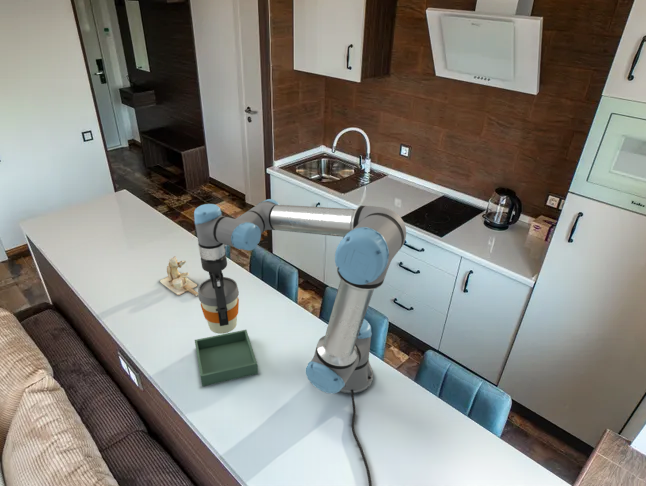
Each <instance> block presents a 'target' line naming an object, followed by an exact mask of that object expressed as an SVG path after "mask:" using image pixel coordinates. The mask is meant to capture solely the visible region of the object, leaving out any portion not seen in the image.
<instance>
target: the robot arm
mask: <svg viewBox="0 0 646 486" xmlns="http://www.w3.org/2000/svg"><path fill="white" fill-rule="evenodd" d="M193 216H194V227H195V231H196V237H197V245H198V246H197V247H198V251H199V256H200V263H201V268H202V270H203V271H205V272H208V275H209V279H210V280H211V281H212V287H213V289H215V294H216V299H217V306H218V308H217V309H216V311H218V316H219V323H220V326H224V325H229V323H228V315H227V310H228V309H227V306H226V300H225V294H224V288H223V287H224V282H223V277H224V273H223V270H225V269H226V268H227V266H228V259H227V254H226V253H227V252H226V247H228V246H229V247H232V248H235V249H237V250H244V251H253V250H255V249H256V248H257V247H258V244H259V243H260V241H261V238H262V234H263V233H264V232H265V231H281V232H290V233H300V234H310V235H311V234H312V235H321V236H330V237H339V238H341V237H342V239H341V240H340V241H339V243H338V245H337V246H336V248H335V252H334V262H335V266H336V267H337V269H336V272H337V276H338V278H339V279H340V280H339V283H338V288H337V291H336V294H335V299H334V302H333V306H332V309H331V313H330V316H329V319H328V325H327V327H326V332H325V334H324V335H323V336H322V337H321V338H319V340H318V341H317V343H316V347H315V352H314V354H313V357H312V358H311V360H310V361H309V362H308V363H307V365H306V367H305V375H306V378H307V380H308V381H309V382H310V383H311V384H312V386H313V387H315V388H316V389H318V390H319V391H321V392H323V393H326V394H332V395H333V394H337V393H339V392H340V393H343V394H348V395H351V403H352V417H351V432H352V435H353V438H354V441H355V442H356V445H357V448H358V449H359V453H360V455H361V458H362V461H363V464H364V467H365V471H366V475H367V481H368V486H373V483H372V476H371V472H370V467H369V464H368V461H367V458H366V456H365V452H364V450H363V447H362V445H361V443H360V441H359V439H358V437H357V433H356V430H355V422H356V412H357V410H356V409H357V408H356V402H355V395H356V394H360V393H362V392H365V391H366V390H368V389H369V388H370V387H371V385H372V383H373V381H374V378H373V377H374V372H373V369H372V366H371V363H370V349H371V341H372V340H371V339H372V335H373V333H372V326H371V324H370V323H369V321H368V320H367V319H366V314H367V311H368V309H369V306H370V302H371V299H372V296H373V293H374V291H375V290H376V289H378V288H380V287H381V286H382V285H383V284H384V281H385V278H386V276H387V273H388V270H389V267H390V264H391V262H392V261H393V259H394V258H395V256H396V255H397V254H398V252H400V250H401V249H402V247H404V244H405V242H406V239H407V228H406V224H405V222H404V220H403V219H402V217H401V216H400V215H399V214H398V213H397V212H396V211H394V210H391V209H389V208H386V207H384V206H383V207H382V206H376V205H375V206H374V205H359V206H357V207H356V208H343V207H325V206H309V205H290V204H280V202H278V201H276V200H275V199H272V198H268V199H267V198H266V199H265V200H262V201H260V202H259V203H257V204H256V205H255V206H253V207H252V208H250V209H249V210H247V211H246V212H244V213H242V214H240V215H239V216H238V217H236V218H233V217H228V216H225V215H223V212H222V210H221V207H220V206H219V205H217V204H214V203H205V204H200V205H199V206H197V207H195V209H194V212H193ZM214 285H215V286H214Z"/></svg>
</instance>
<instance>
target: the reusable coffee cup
mask: <svg viewBox="0 0 646 486" xmlns="http://www.w3.org/2000/svg"><path fill="white" fill-rule="evenodd" d="M223 282H224V287H223V288H224V294H225V300H226V306H227V309H228V310H227V315H228V323H229V325H224V326H220V323H219V316H218V311H216V309H217V308H218V306H217V299H216V294H215V289H213V287H212V281H211V280H210V278H208V279H205V280H204V281H202V282H201V283H200V284H199V286H198V288H197V292H198V296H197V297H198V300H199V302H200V308H201V310H202V313H203V317H204V319H205V320H206V321H207V322H206V323H207V324H208V328H209V330H210V331H211V332H213V333H215V334H218V335H222V334H227V333H231V332H233V331H234V330H235V328H236V327H237V325H238V323H237V322H238V315H239V306H240V305H239V304H240V299H239V293H240V291H239V287H238V284H237V281H236V280H234V279H233V278H231V277H227V276H223ZM214 286H215V285H214Z"/></svg>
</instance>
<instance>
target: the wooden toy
mask: <svg viewBox="0 0 646 486" xmlns="http://www.w3.org/2000/svg"><path fill="white" fill-rule="evenodd" d="M186 263H187V261H186V260H180V261H178V259H177V256H175V255H174V256H172V257H170V258H169V261H168V264H167V266H166V273H167V276H166V277H164V278H162V279H160V280H159V283H161V284H162V285H163V286H164V287H166V288H168V289H169V290H170V292H172V293H174V294H175V295H176V296H181V295H183V294H184V293H186V292H188V293H191V294H192V295H193V296H194V297H198V291H197V290H195V289H194V288H197V287H198V284H197V283H196V282H194V281H192V280H191V279H190V278H188V277H189V275H190V273H189V272H182V273H181V272H179V268H180V269H181V268H182V267H183V266H184V265H185V264H186Z"/></svg>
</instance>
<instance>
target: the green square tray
mask: <svg viewBox="0 0 646 486" xmlns="http://www.w3.org/2000/svg"><path fill="white" fill-rule="evenodd" d="M251 343H252V342H251V339H250V336H249V333H248V330H247V329H243V330H242V329H241V330H237V331H231V332H228V333H223V334H217V335H211V336H207V337H201V338H198V339H194V345H195V352H196V358H197V364H198V371H199V377H200V382H201V387H206V386H211V385H214V384H220V383H223V382H228V381H232V380H237V379H242V378H246V377H250V376H255V375H258V374H259V370H258V369H259V368H258V362H257V359H256V355H255V352H254V349H253V346H252V344H251Z"/></svg>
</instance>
